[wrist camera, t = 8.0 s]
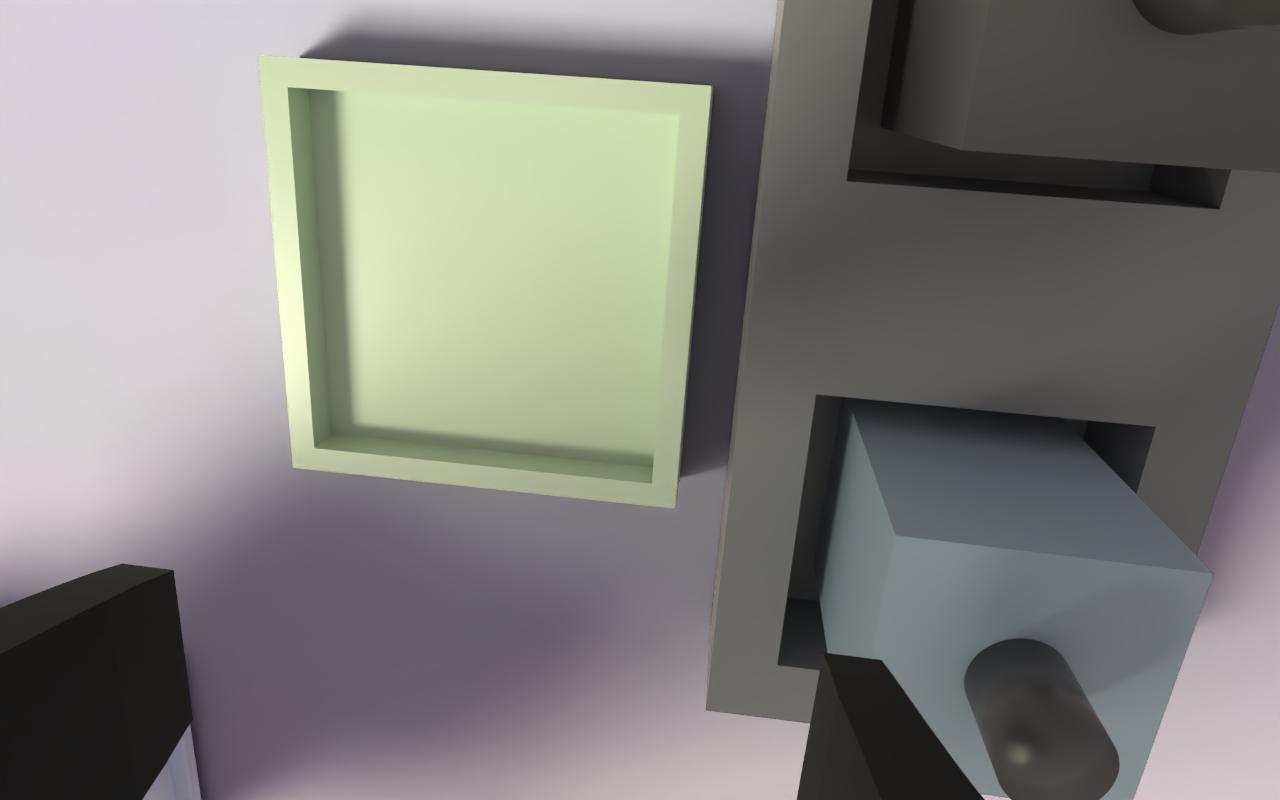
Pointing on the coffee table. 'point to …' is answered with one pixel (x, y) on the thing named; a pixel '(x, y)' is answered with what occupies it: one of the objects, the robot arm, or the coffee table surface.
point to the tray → (486, 273)
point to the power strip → (962, 322)
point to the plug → (1007, 592)
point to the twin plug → (1092, 79)
